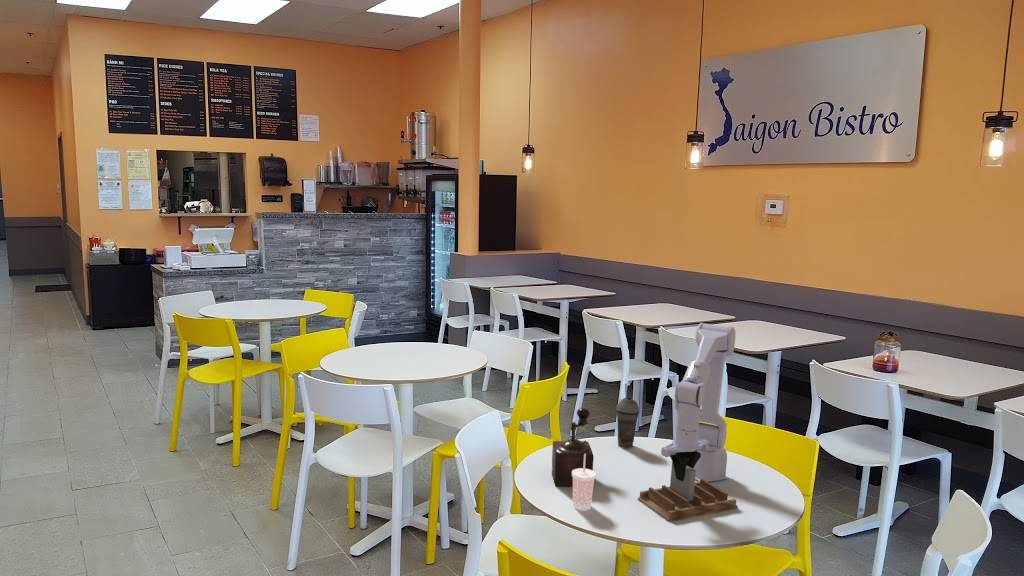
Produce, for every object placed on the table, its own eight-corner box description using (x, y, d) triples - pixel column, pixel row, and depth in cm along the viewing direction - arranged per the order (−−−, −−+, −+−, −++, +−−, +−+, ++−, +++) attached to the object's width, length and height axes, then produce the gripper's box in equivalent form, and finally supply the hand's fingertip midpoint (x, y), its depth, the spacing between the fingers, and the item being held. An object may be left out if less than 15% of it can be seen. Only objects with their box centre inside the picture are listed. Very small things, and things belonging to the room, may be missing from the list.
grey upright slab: (674, 489, 189) (676, 460, 187) (693, 500, 183) (696, 470, 181) (669, 490, 188) (672, 461, 187) (688, 501, 182) (691, 471, 181)
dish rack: (704, 487, 197) (705, 475, 196) (737, 508, 185) (738, 494, 185) (637, 499, 188) (638, 486, 187) (668, 521, 176) (669, 507, 176)
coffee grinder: (595, 487, 194) (599, 424, 191) (554, 487, 193) (557, 423, 191) (586, 465, 209) (590, 406, 207) (548, 464, 209) (551, 405, 206)
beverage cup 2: (631, 451, 222) (635, 389, 219) (609, 446, 225) (613, 384, 223) (640, 445, 228) (644, 384, 225) (619, 440, 232) (623, 380, 229)
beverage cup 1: (598, 506, 183) (601, 454, 181) (584, 514, 178) (588, 460, 176) (578, 499, 187) (581, 447, 185) (565, 506, 182) (567, 453, 180)
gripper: (696, 419, 190) (692, 468, 192) (654, 426, 182) (650, 477, 184) (716, 427, 184) (711, 478, 186) (673, 435, 176) (669, 488, 178)
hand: (682, 478), depth 185 cm, fingers closed on grey upright slab, 2 cm apart
